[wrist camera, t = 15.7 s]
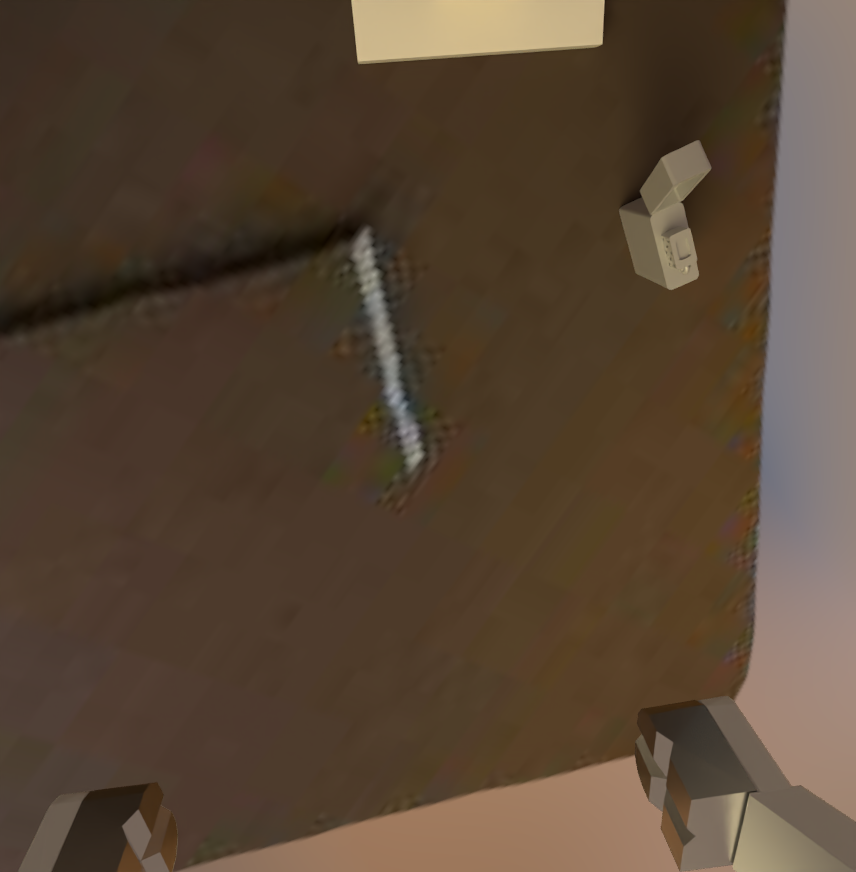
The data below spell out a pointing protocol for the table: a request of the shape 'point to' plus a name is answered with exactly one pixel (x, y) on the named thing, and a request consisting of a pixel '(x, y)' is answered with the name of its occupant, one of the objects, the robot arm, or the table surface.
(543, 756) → the table surface
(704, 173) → the lighter
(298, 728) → the table surface
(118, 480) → the table surface
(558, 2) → the tile
